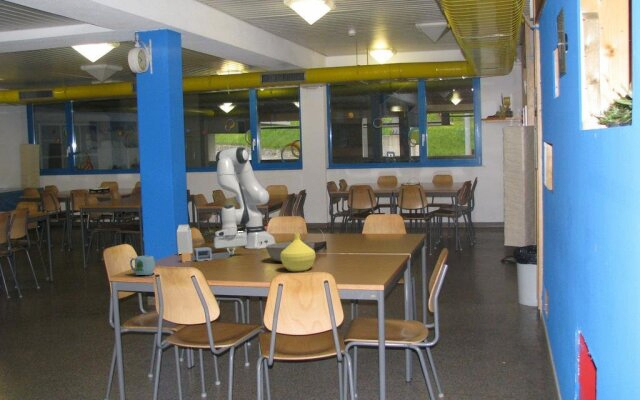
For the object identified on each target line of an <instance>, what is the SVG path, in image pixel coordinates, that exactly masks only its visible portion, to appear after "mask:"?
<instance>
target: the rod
mask: <svg viewBox="0 0 640 400" xmlns="http://www.w3.org/2000/svg"><path fill="white" fill-rule="evenodd" d="M206 258H210V253H209V254H203V255H198V259H206ZM218 259H219V260H220V259H221V260H222V259H230V255H229V252H228V251H227V252H216V253H212V260H218ZM195 260H197V259H196V255H194V254H193V255H191V262H196V261H195Z"/></svg>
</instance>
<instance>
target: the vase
mask: <svg viewBox="0 0 640 400" xmlns="http://www.w3.org/2000/svg"><path fill="white" fill-rule="evenodd" d="M300 235H301V234H300V233H299V232H298V233H297V232H296V233H294V234H293V241H291V242H292V243H291V244H290V245H289V246H288V247H287V248H286V249H284V250H283V251H282V252H281V255H280V257H281V261H282V262H281V264H282V265H283V267H284V268H286V270H287V271H289V272H293V273H294V272H297V273H298V272H306V271H308V270H309V269H310V268H311V267H312V266H313V265H314V262H315V260H316V251H315V250H314V249H311V248H310V247H309V246H307V245H306V244H304V243H303V242H304V241H302V239H301V238H300Z"/></svg>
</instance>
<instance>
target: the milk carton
mask: <svg viewBox="0 0 640 400" xmlns="http://www.w3.org/2000/svg"><path fill="white" fill-rule="evenodd" d="M192 238H193V234H192V229H191V227H190V224H178V227H177V230H176V239H177V240H176V241H177V254H178V256H179V254H182V253H189V252H190V253H191V254H193V253H194V248H193V239H192Z"/></svg>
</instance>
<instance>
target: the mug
mask: <svg viewBox="0 0 640 400" xmlns="http://www.w3.org/2000/svg"><path fill="white" fill-rule="evenodd" d="M133 261H134V267H133ZM129 266H130V269H131V270H132V271H133V272H134V273H135V275H136V276H137V275H149V276H153V275H154V274H153V269H154V268H155V267H156V262H155V258H154V256H153V255H147V254H146V255H139V256H136V257H131V259H130V261H129ZM152 274H153V275H152Z"/></svg>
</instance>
